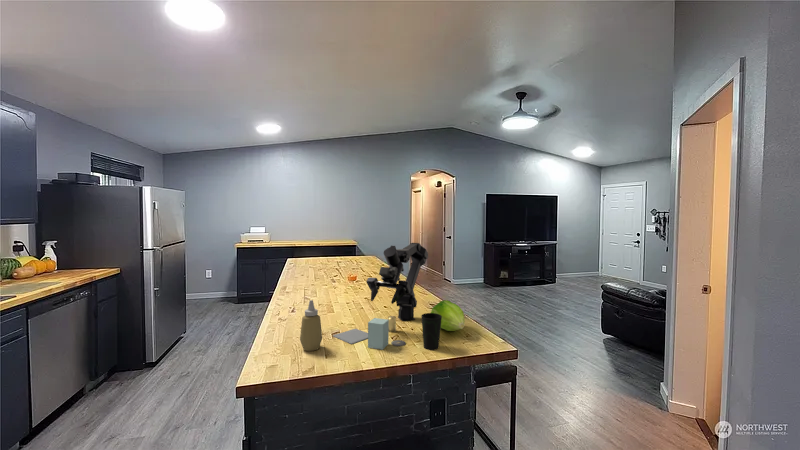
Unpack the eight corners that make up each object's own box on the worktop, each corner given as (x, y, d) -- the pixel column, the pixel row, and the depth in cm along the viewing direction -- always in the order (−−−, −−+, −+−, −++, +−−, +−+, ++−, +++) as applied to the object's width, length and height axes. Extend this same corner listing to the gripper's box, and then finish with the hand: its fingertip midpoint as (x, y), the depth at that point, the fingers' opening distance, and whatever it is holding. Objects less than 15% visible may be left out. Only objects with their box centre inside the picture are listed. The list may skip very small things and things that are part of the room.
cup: (443, 344, 133) (443, 314, 133) (438, 352, 126) (439, 320, 125) (423, 342, 135) (424, 312, 135) (418, 349, 128) (419, 317, 128)
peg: (393, 329, 150) (394, 315, 150) (397, 331, 147) (397, 317, 147) (386, 330, 149) (386, 316, 148) (389, 332, 146) (389, 318, 145)
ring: (402, 340, 138) (402, 339, 138) (408, 345, 132) (408, 344, 132) (389, 342, 135) (389, 341, 135) (394, 347, 130) (394, 346, 130)
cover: (374, 341, 135) (374, 317, 135) (388, 343, 133) (388, 319, 133) (367, 347, 130) (368, 322, 129) (382, 349, 128) (382, 324, 127)
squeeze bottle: (310, 354, 123) (310, 304, 122) (295, 349, 127) (295, 301, 126) (326, 347, 129) (327, 299, 129) (311, 342, 134) (311, 296, 133)
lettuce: (444, 341, 136) (445, 311, 136) (426, 325, 156) (427, 299, 155) (476, 338, 140) (476, 309, 140) (454, 323, 160) (455, 297, 159)
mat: (355, 329, 149) (355, 328, 149) (374, 336, 141) (374, 335, 141) (332, 336, 141) (332, 335, 141) (351, 344, 132) (351, 343, 132)
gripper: (369, 258, 149) (355, 287, 138) (409, 261, 141) (397, 292, 131) (376, 275, 156) (363, 303, 145) (415, 278, 148) (404, 309, 138)
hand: (381, 301), depth 140 cm, fingers open, 9 cm apart
